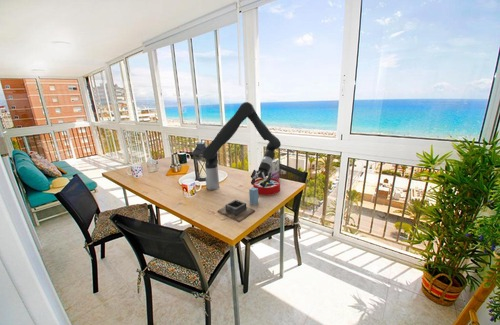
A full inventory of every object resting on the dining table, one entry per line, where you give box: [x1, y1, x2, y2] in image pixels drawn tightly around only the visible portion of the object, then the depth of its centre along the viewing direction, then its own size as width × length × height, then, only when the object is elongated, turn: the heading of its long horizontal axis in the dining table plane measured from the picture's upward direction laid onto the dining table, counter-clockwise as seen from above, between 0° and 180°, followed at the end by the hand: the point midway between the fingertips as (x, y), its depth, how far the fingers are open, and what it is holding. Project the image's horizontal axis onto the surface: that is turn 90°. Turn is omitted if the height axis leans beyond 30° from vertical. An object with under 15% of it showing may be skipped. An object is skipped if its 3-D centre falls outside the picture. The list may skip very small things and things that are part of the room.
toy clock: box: [252, 177, 281, 196], centre depth 148 cm, size 20×6×20 cm
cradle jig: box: [217, 199, 256, 223], centre depth 118 cm, size 18×14×5 cm
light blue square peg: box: [248, 186, 259, 206], centre depth 127 cm, size 4×4×10 cm
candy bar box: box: [268, 158, 280, 180], centre depth 166 cm, size 11×5×16 cm, turn 139°
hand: (257, 185), depth 129 cm, fingers open, 8 cm apart
